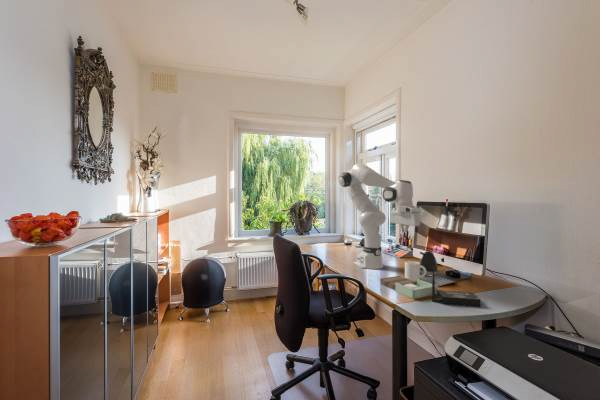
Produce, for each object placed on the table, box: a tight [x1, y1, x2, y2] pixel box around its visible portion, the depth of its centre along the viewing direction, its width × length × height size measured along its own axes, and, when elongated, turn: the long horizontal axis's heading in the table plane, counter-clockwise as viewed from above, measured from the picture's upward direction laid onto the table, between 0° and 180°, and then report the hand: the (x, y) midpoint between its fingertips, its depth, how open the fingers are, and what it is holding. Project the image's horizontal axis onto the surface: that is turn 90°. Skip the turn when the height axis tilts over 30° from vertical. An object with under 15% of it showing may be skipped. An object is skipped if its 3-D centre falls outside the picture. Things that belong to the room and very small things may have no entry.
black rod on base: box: [431, 267, 482, 308], centre depth 138 cm, size 20×14×17 cm
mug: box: [404, 260, 426, 282], centre depth 171 cm, size 12×8×10 cm
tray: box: [394, 279, 438, 301], centre depth 149 cm, size 12×16×5 cm
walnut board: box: [379, 275, 417, 291], centre depth 161 cm, size 13×14×3 cm
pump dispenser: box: [419, 250, 438, 276], centre depth 181 cm, size 10×10×15 cm
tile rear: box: [404, 284, 418, 289], centre depth 152 cm, size 5×5×2 cm
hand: (404, 232), depth 166 cm, fingers closed
